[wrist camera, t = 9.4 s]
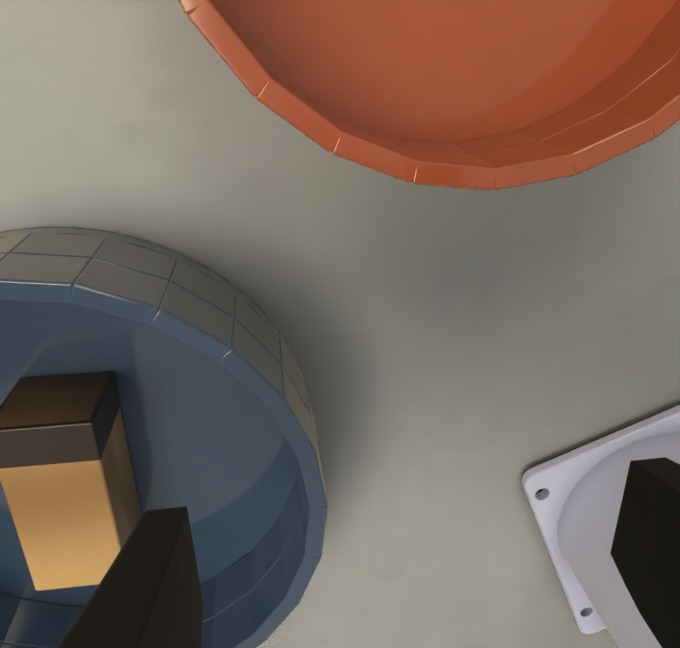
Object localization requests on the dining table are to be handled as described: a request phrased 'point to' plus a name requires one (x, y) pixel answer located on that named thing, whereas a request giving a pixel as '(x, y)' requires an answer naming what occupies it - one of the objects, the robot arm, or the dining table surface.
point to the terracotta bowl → (458, 80)
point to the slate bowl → (170, 421)
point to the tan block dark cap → (67, 476)
